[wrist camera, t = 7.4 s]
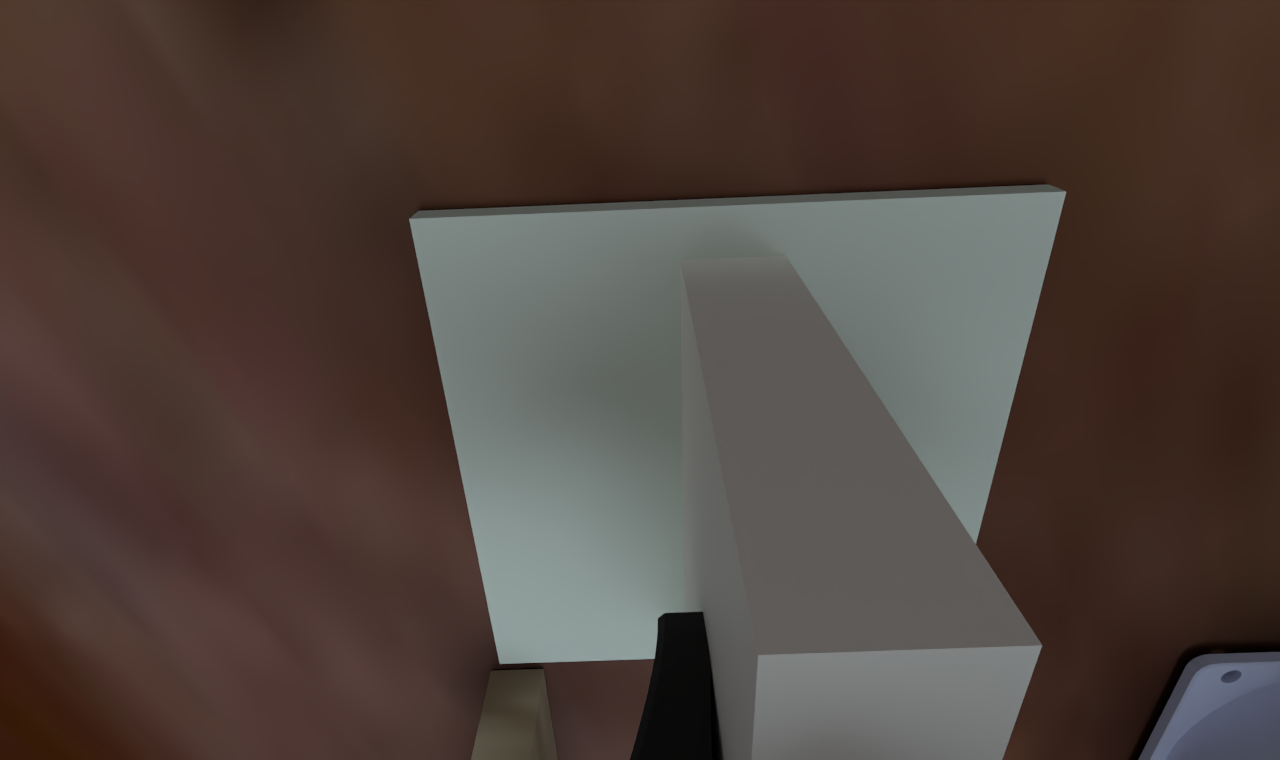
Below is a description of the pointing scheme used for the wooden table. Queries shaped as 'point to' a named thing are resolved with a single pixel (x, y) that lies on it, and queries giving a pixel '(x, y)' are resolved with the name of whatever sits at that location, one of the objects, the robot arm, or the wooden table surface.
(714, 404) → the gray rectangular slab
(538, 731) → the corner fence
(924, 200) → the mat
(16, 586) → the wooden table surface
